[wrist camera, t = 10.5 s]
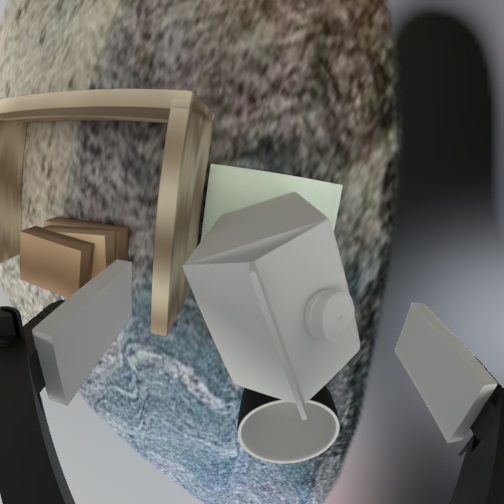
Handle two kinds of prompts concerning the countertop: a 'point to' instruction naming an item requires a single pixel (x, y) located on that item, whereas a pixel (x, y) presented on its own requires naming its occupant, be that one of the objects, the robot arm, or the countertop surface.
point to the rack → (171, 183)
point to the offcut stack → (69, 253)
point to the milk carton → (276, 298)
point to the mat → (262, 192)
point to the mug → (286, 426)
